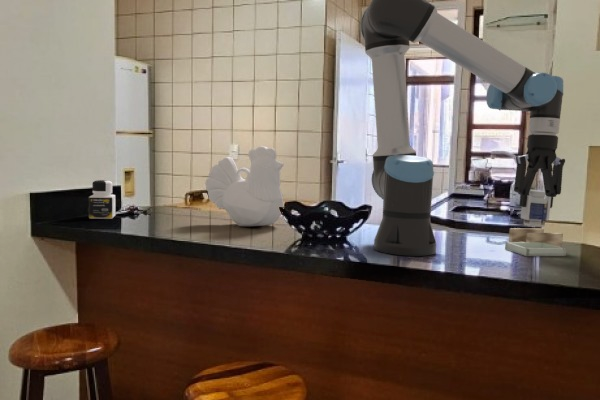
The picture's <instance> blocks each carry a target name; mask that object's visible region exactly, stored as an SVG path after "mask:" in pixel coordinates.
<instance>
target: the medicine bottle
mask: <svg viewBox="0 0 600 400" xmlns="http://www.w3.org/2000/svg"><path fill="white" fill-rule="evenodd" d="M114 217H116V194H113V182H112V181H111V180H105V179H103V180H102V179H100V180H99V179H98V180H94V181H92V195H90V196H88V218H89V219H91V220H93V219H96V220H97V219H101V220H103V219H104V220H111V219H113V218H114Z"/></svg>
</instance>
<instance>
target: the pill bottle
mask: <svg viewBox="0 0 600 400" xmlns="http://www.w3.org/2000/svg"><path fill="white" fill-rule="evenodd" d="M528 196H531V204H530V214H529V220H526V219H523V225H524V226H527V227H532V228H544V227H545V223H546V220H545V218H546V209H547V200H545V199H544V197H545V196H546V195H545V190H535V189H530V192H529V194H528Z"/></svg>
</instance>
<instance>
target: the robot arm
mask: <svg viewBox="0 0 600 400" xmlns="http://www.w3.org/2000/svg"><path fill="white" fill-rule="evenodd" d="M360 31H361V36H362V38H363V40H364V48H365V49H364V51H365V54H366V55H367V56H368V58H370V59H371V68H372V69H371V70H372V84H373V85H372V86H373V97H374V99H373V100H374V110H375V111H374V112H375V113H374V114H375V126H376V138H377V139H376V140H377V143H376V144H377V148H376V150H375V151H374V153H373V154H372V165H373V166H372V167H373V171H372V174H371V185H372V187H373V188H372V189H373V190H374V192H375V194H376V195H377V196H378V197H379V198H381V200H383V202H382V219H381V221H380V223H379V227H378V229H377V232H376V235H375V237H374V239H373V240H374V241H373V242H374V244H373V249H374V250H375V251H378V252H380V253H385V254H390V255H394V256H395V255H397V256H406V257H407V256H408V257H409V256H411V257H414V256H415V257H422V256H432V255H435V254H436V253H437V242H436V241H437V240H436V239H435V238H436V237H435V234H434V230H433V227H432V221H431V213H432V201H433V200H432V199H433V198H432V197H433V182H434V175H435V171H434V163H433V161H432V160H431V159H430V158H428V157H424V156H418V155H417V150H415V149H414V148H413V147H411V144H410V143H411V141H410V128H409V126H410V125H409V112H408V111H409V110H408V99H407V98H408V95H407V78H406V62H405V55H406V53H407V52H408V51H409V50H410V46H411V45H410V42H411V43H413V44H414V43H419V42H420V43H421V44H423V45H425V46H426V47H428V48H430V50H433V51H435V52H437V53H438V54H440V55H441V56H442V57H444V58H446V59H448V60H450V61H451V62H453V63H455V64H456V65H458V66H460V67H461V68H463V69H464V70H466V71H467V72H470V73H472V75H475V76H476V77H478V78H479V79H481V80H483V81H485V82H486V83H488V84H489V86H488V88H487V91H486V95H485V96H486V98H485V101H486V105H487V107H488V109H492V110H499V111H516V112H517V111H521V112H529V123H528V130H527V132H528V133H529V134H528V136H527V140H526V141H527V142H526V143H527V144H526V148H527V151H526V152H525V154H523V155H517V156H516V158H515V160H516V161H515V162H516V172H515V180H514V187H513V191H514V192H515V193H517V194H518V195H520V197H519V207H521V208H520V209H521V210H520V219H521V220H522V219H523V220H524V219H526V220H529V214H530V204H531V196H530V195H529V192H530V190H532V189H531V188H532V186H533V183H534V180H535V177H536V174H537V173H538V172H539V170H540V172H541V173H542V183H543V188H544V191H545V197H544V199H545V200H547V209H546V218H545V221H550V211H551V209H552V208H553V203H554V198H556V197H557V196H558V195H561V194H562V183H563V182H562V181H563V169H564V165H565V163H566V159H565V158H560V157H558V156H557V153H556V152H557V151H556V150H557V149H558V143H559V137H558V134H559V132H560V123H561V113H562V104H563V98H564V97H563V96H564V79H563V77H561V76H557V75H552V74H550V73H547V72H535V71H533V70H531V69H530V68H528V67H527V66H524V65H523V64H521V63H520V62H518V61H516V60H514V58H512V57H510V56H508V55H507V54H505V53H504V52H502V51H500V50H499V49H497V48H495V47H493V46H492V45H491V44H489V43H487V42H485V41H484V40H482V39H481V38H479V37H478V36H476V35H475V34H473V33H471V32H470V31H468V30H466V29H464V28H463V27H461V26H459V25H458V24H457V23H455V22H453V21H452V20H450V19H448V18H447V17H445V16H443V15H442V14H440V13H438V9H437V6H436V5H434V4H433V3H432V2H430V1H428V0H371V1H370V3H369V4H368V6H367V8H366V9H365V11H364V12H363V14H362V16H361V22H360ZM527 163H528V164H527Z"/></svg>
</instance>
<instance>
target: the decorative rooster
mask: <svg viewBox="0 0 600 400" xmlns="http://www.w3.org/2000/svg"><path fill="white" fill-rule="evenodd" d="M248 158H249V160H250V162H251V164H250V168H247V167H240V168H239V169H238V166H237V164H236V162H235V160H234V158H233V157H232V156H225V157H223V158H221V159H219V161H218V163H216V164H214V165H213V166H212V167H211V168H210V172H209V173H208V177H207V178H206V180H205V182H204V183H205V190H206V191H207V195H208V199H209V201H210V202H211V203H213V204H214V205H215V207H216V208H218V209H219V210H224V211H226V213H227V215H228V216H229V217H230V218H231V219H232V221H233V222H234V223H235V224H236V225H237V226H239V227H259V226H260V227H261V226H270V225H273V224H275V223H276V222H278V220H279V219H280V217H281V216H282V214H281V213H280V210H279V207H283V206H285V205H284V196H283V194H282V190H281V189H282V188H281V169H282V167H284V165H285V164H284V162H281V161H279V160H278V159H277V150H276V149H275V148H273V147H267V146H265V145H259V146H257V147H256V148H255V147H254V148H251V149H249V151H248ZM243 172H245V174H246V178H243V177H242V173H243Z"/></svg>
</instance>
